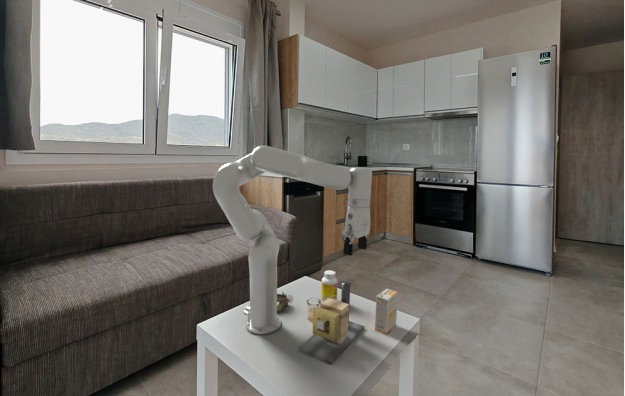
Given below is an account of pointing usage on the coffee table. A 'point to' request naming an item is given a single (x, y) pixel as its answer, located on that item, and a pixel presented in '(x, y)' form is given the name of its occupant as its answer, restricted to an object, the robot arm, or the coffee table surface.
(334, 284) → the supplement bottle
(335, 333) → the yellow square frame
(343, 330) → the block
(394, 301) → the supplement box
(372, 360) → the coffee table surface
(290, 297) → the eagle figurine
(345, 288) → the crank handle
